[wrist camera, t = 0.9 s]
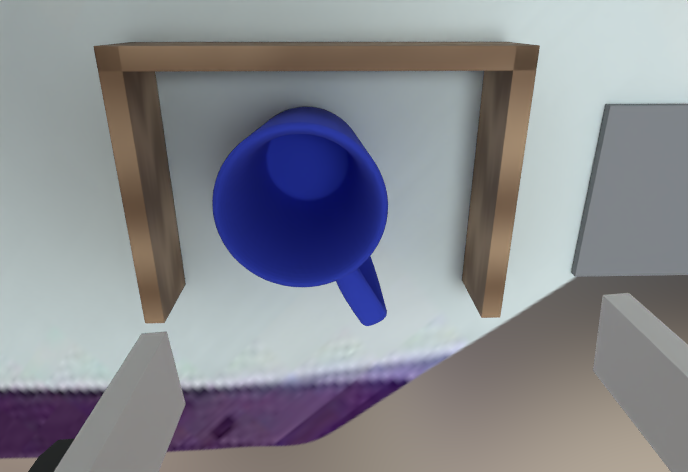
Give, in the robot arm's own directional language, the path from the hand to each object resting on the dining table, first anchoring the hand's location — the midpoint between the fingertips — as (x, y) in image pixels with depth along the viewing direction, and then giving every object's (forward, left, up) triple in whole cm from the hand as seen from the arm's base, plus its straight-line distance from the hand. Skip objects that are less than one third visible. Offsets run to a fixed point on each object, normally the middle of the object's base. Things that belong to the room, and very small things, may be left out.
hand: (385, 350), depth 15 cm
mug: (+1, -2, -20) cm, 20 cm away
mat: (+2, +22, -19) cm, 29 cm away
